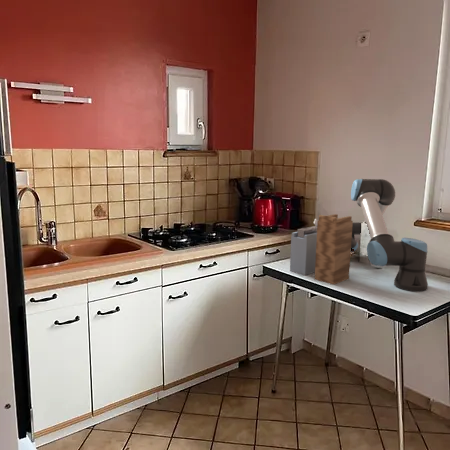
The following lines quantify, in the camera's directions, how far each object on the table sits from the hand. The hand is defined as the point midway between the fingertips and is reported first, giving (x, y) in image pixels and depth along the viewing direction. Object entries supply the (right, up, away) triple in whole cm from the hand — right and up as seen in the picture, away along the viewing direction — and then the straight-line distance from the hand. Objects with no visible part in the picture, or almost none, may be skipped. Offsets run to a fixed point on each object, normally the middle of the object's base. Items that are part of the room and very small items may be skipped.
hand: (324, 222), depth 252 cm
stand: (-1, -29, -21) cm, 35 cm away
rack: (-12, -26, -6) cm, 29 cm away
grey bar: (-8, -7, -6) cm, 12 cm away
